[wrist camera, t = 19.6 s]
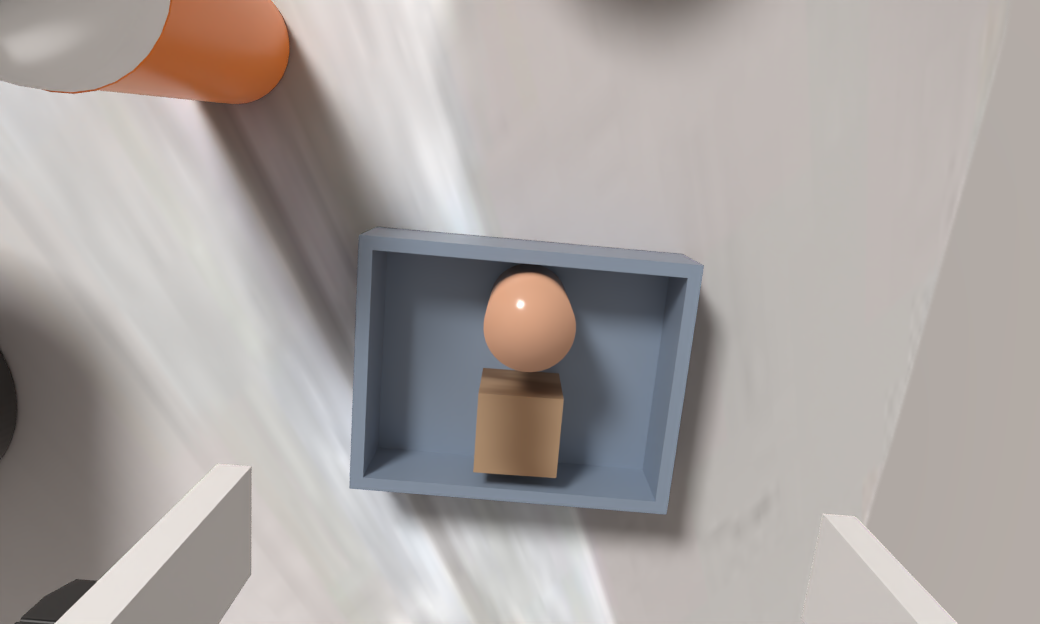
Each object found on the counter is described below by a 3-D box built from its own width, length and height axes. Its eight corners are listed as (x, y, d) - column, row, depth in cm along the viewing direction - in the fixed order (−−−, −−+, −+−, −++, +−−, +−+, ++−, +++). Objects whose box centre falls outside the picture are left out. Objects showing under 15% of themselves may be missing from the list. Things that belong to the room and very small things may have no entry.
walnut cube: (478, 438, 45) (473, 472, 40) (483, 367, 44) (478, 393, 39) (552, 444, 45) (556, 478, 40) (558, 373, 44) (563, 399, 39)
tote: (367, 453, 46) (349, 488, 41) (377, 226, 42) (358, 234, 37) (651, 477, 46) (666, 514, 41) (682, 254, 43) (703, 265, 38)
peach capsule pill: (486, 335, 43) (480, 367, 36) (492, 259, 42) (487, 278, 35) (562, 342, 43) (570, 375, 36) (571, 267, 42) (580, 286, 35)
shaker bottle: (335, 67, 40) (160, -27, 21) (219, 148, 41) (-52, 133, 22) (245, -70, 39) (-38, -311, 19) (126, 19, 40) (-257, -123, 20)
